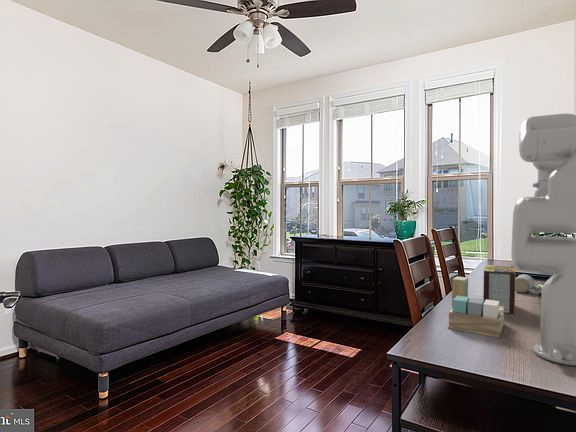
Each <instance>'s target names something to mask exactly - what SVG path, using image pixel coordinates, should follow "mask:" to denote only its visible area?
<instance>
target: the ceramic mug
mask: <svg viewBox="0 0 576 432" xmlns="http://www.w3.org/2000/svg"><path fill="white" fill-rule="evenodd" d="M541 291H542V290H541V289H539V288H538V287H537V286H535V279H534V278H533V277H532V276H530V275H528V274H523V273H522V274H519V275H518V276H517V277H515V292H518V293H523V294H524V293H528V292H529V293H532V294H534V295H540V294H541Z"/></svg>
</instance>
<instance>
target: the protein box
mask: <svg viewBox="0 0 576 432" xmlns="http://www.w3.org/2000/svg"><path fill="white" fill-rule="evenodd" d="M515 268H516V267H515V266H506V265H505V266H503V265H502V266H501V265H490V264H485V265H484V269H483V295H482V296H483V298H482V299H484V302H485V300H486V299H487V300H494V301H499V306H504V314H509V315H516V314H515V310H516V309H515V308H516V306H515V305H516V303H515V302H516V290H515V278H516V269H515Z"/></svg>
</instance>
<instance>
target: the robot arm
mask: <svg viewBox="0 0 576 432" xmlns="http://www.w3.org/2000/svg"><path fill="white" fill-rule="evenodd" d="M518 138H519V140H518V144H519V145H518V149H519V156H520V159H522V161H524V162H525V163H526V162H527V163H532V164H533V166H534V168H535V169H536V170H537V182H535V183H532V187H533V188H536V189H537V190H535V191H534V195H533V196H525V197H521V198H520V199H517V201H516V203H515V205H514V207H513V213H512V226H511V227H512V228H511V229H512V230H511V231H512V232H511V253H510V254H511V255H510V257H511V262H512V264H513V267H514V268H516V269H518V270H522V271H530V272H541V273H542V272H543V273H550V274H553V275H551V276H550V277H549V278H548V279H547V280H546V281H545V282H544V284H543V286H542V287H541V290H540V291H541V292H540V294H541V295H540V325H539V326H540V327H539V328H540V329H539V331H540V333H539V337H540V338H539V343H536V344H534V345H533V346H532V351H533V353H534V354H535V355H537V356H539V357H540V358H542V359H545V360H548V361H551V362H554V363H558V364H562V365H565V366H566V365H568V366H575V367H576V237H569V236H567V237H566V235H568V234H576V115H575V114H573V113H555V114H547V115H546V114H545V115H536V116H531V117H529V118H526V119H525V120H524V121H523V123H522V124H521V126H520V129H519V135H518ZM536 233H539V234H540V233H541V234H543V233H544V234H563V235H565V236H543V235H542V236H540V235H539V236H538V235H534V234H536Z"/></svg>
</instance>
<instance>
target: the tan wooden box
mask: <svg viewBox="0 0 576 432" xmlns="http://www.w3.org/2000/svg"><path fill="white" fill-rule="evenodd" d="M504 324H505V313H504V306H499V318H498V319H492V318H486V317H483V316H482V317H480V316H474V315H468V314H461V313H455V312H453V308H452V307H451V309H450V311H449V312H448V325H447V329H448V330H455V331H460V332H465V333H470V334H475V335H481V336H486V337H487V336H488V337H491V338H496V339H497V338H498V339H500V338H501V335H502V332H503V328H504Z"/></svg>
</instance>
